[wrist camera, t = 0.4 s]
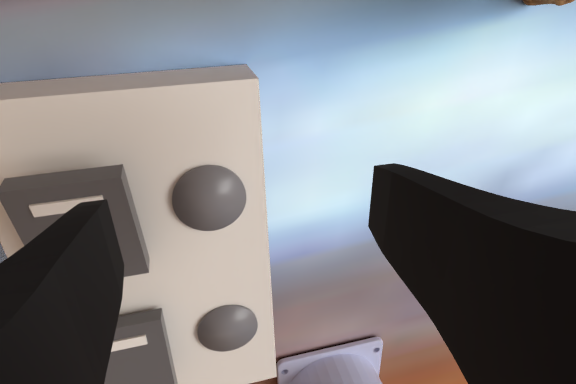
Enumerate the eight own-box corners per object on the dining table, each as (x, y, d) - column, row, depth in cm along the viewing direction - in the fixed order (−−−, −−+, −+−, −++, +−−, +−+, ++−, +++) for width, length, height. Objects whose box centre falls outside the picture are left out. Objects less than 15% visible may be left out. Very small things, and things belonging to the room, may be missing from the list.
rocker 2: (178, 377, 22) (177, 400, 20) (100, 396, 21) (93, 421, 19) (162, 301, 20) (160, 320, 18) (76, 317, 19) (67, 339, 18)
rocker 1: (149, 249, 18) (148, 274, 17) (55, 265, 17) (47, 292, 16) (124, 156, 15) (121, 178, 14) (9, 170, 14) (-5, 194, 13)
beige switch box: (267, 338, 27) (277, 379, 24) (93, 377, 25) (83, 427, 22) (246, 64, 18) (259, 79, 15) (-25, 84, 16) (-67, 106, 13)
